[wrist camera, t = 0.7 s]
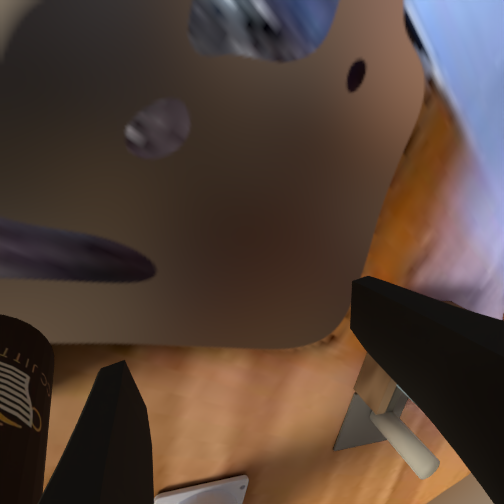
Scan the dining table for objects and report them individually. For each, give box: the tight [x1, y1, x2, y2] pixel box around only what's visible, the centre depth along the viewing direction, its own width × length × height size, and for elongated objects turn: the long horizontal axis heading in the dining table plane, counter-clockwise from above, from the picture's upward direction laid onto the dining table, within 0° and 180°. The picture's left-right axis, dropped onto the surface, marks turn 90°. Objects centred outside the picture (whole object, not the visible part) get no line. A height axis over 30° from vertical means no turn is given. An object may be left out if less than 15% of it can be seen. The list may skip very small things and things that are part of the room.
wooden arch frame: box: [354, 301, 467, 415], centre depth 28 cm, size 9×8×3 cm
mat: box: [333, 391, 408, 451], centre depth 32 cm, size 7×8×1 cm
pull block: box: [370, 385, 440, 479], centre depth 27 cm, size 12×5×6 cm, turn 167°
